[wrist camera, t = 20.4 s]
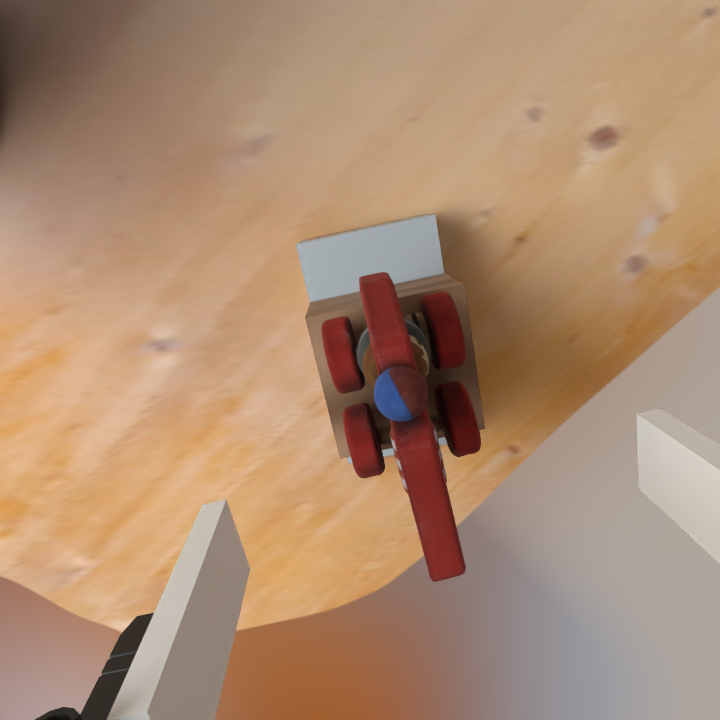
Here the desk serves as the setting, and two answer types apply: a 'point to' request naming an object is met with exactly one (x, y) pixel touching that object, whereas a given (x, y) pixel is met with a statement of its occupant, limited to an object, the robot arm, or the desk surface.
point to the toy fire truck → (407, 404)
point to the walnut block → (354, 310)
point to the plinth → (371, 259)
